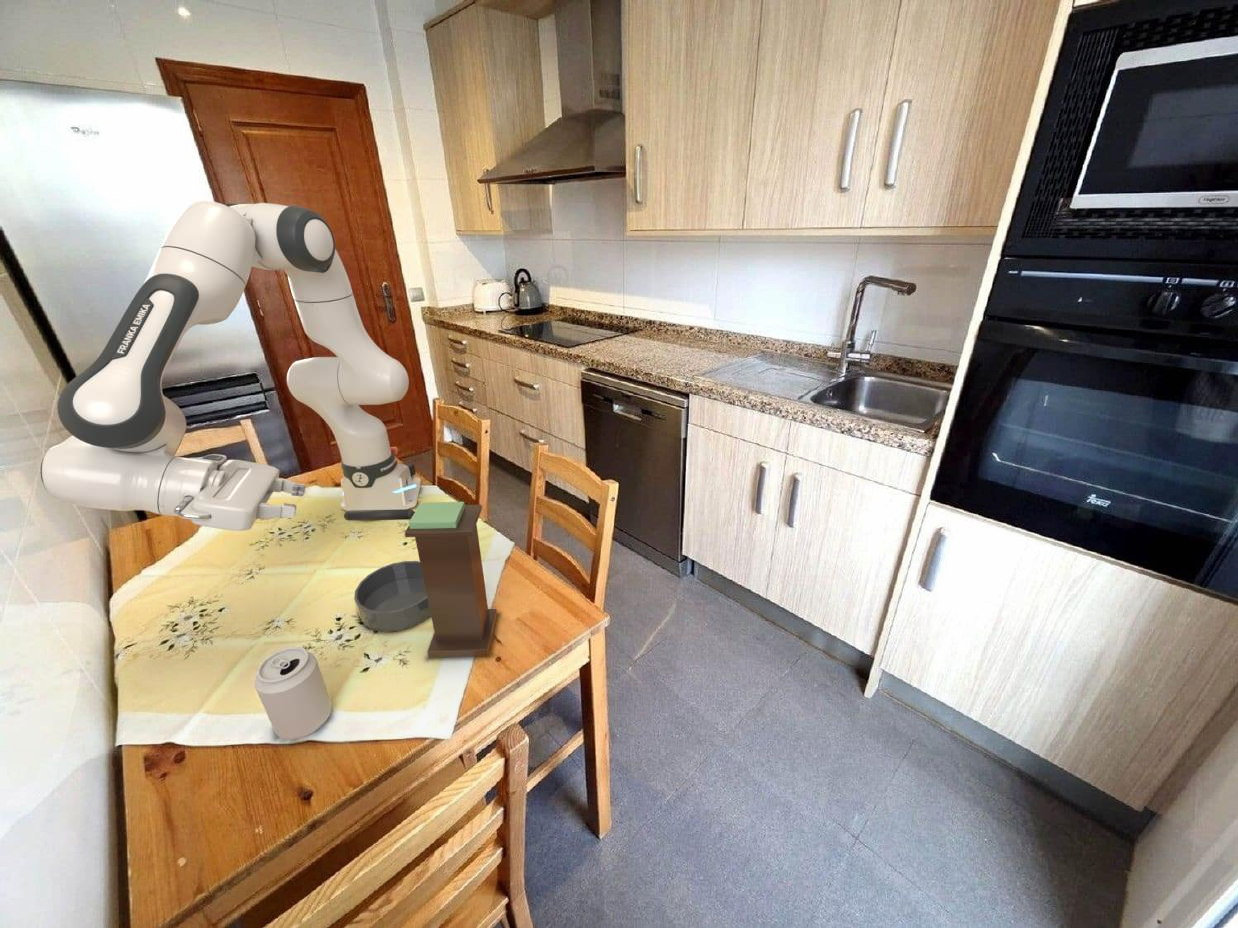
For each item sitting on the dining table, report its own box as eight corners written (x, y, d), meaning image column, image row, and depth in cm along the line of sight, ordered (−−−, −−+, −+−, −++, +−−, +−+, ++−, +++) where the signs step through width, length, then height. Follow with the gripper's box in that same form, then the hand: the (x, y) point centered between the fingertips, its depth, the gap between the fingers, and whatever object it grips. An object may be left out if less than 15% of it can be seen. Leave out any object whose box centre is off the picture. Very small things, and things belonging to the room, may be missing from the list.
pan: (377, 579, 104) (372, 561, 102) (450, 577, 105) (447, 559, 103) (345, 633, 91) (340, 614, 89) (430, 630, 91) (426, 611, 89)
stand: (443, 616, 95) (422, 502, 84) (497, 614, 95) (482, 501, 84) (428, 658, 86) (402, 536, 75) (487, 656, 86) (470, 535, 75)
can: (308, 748, 71) (284, 689, 66) (263, 737, 72) (236, 679, 67) (344, 703, 78) (325, 646, 72) (302, 694, 79) (280, 637, 74)
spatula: (336, 530, 76) (334, 521, 75) (353, 509, 81) (351, 501, 80) (456, 528, 77) (454, 519, 76) (465, 507, 82) (463, 499, 81)
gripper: (170, 493, 67) (292, 506, 73) (217, 450, 85) (312, 464, 91) (165, 536, 68) (285, 545, 74) (213, 485, 86) (306, 496, 92)
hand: (300, 500), depth 83 cm, fingers open, 8 cm apart
